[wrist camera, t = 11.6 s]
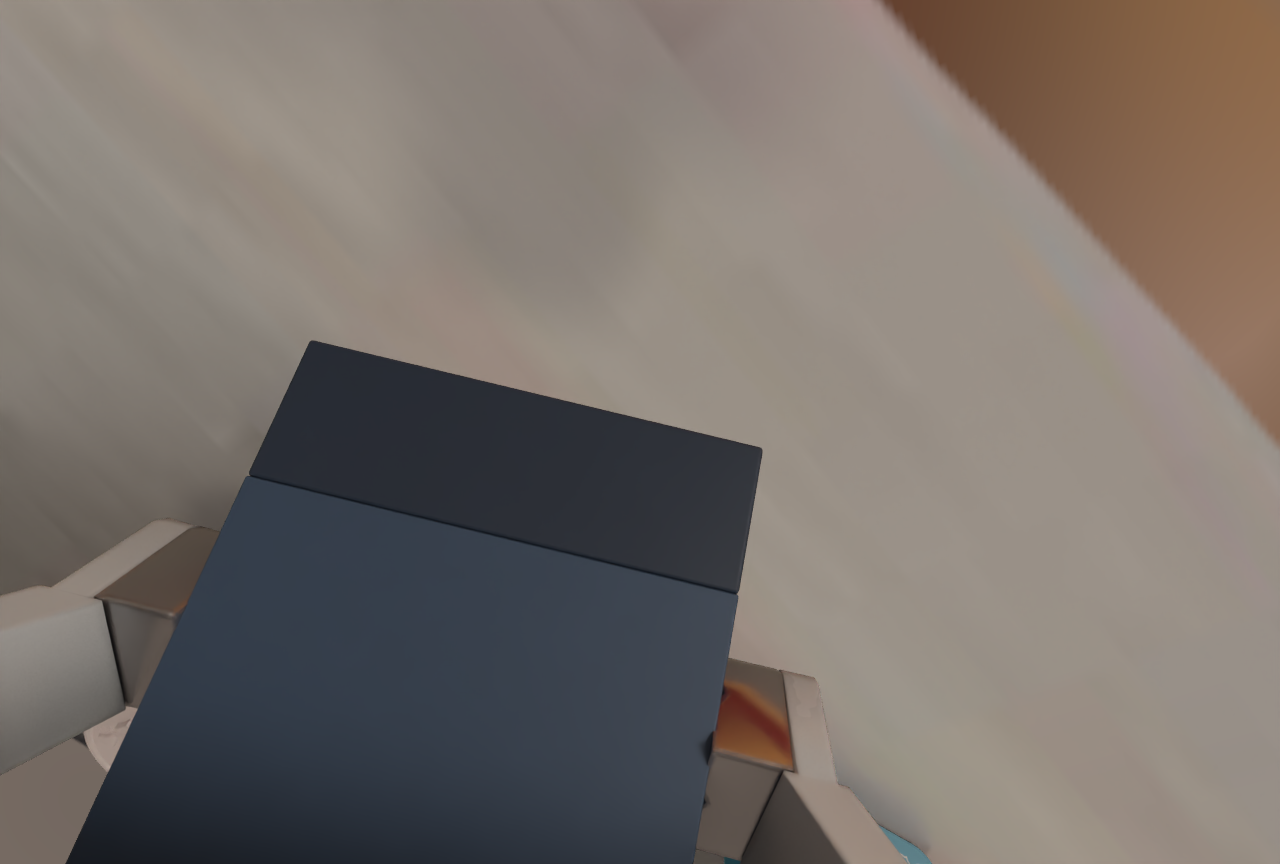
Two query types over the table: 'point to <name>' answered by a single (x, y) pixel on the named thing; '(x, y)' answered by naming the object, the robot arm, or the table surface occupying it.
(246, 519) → the bin
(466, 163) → the table surface
